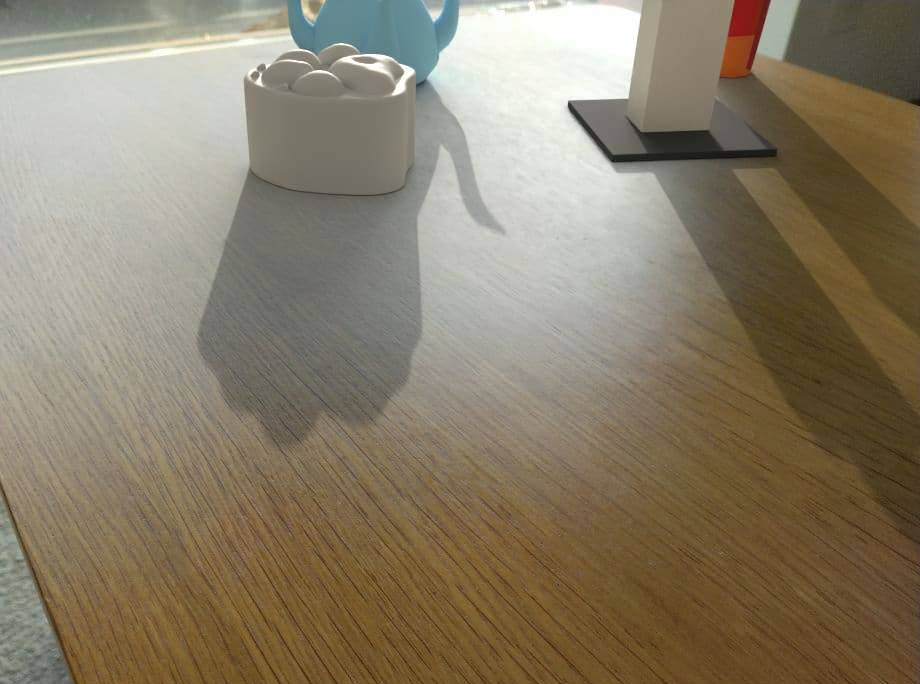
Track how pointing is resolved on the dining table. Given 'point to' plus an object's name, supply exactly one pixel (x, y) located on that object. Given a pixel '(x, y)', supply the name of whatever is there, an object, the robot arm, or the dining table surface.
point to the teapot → (378, 29)
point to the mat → (667, 135)
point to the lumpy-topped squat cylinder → (331, 121)
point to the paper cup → (743, 37)
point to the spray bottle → (678, 64)
